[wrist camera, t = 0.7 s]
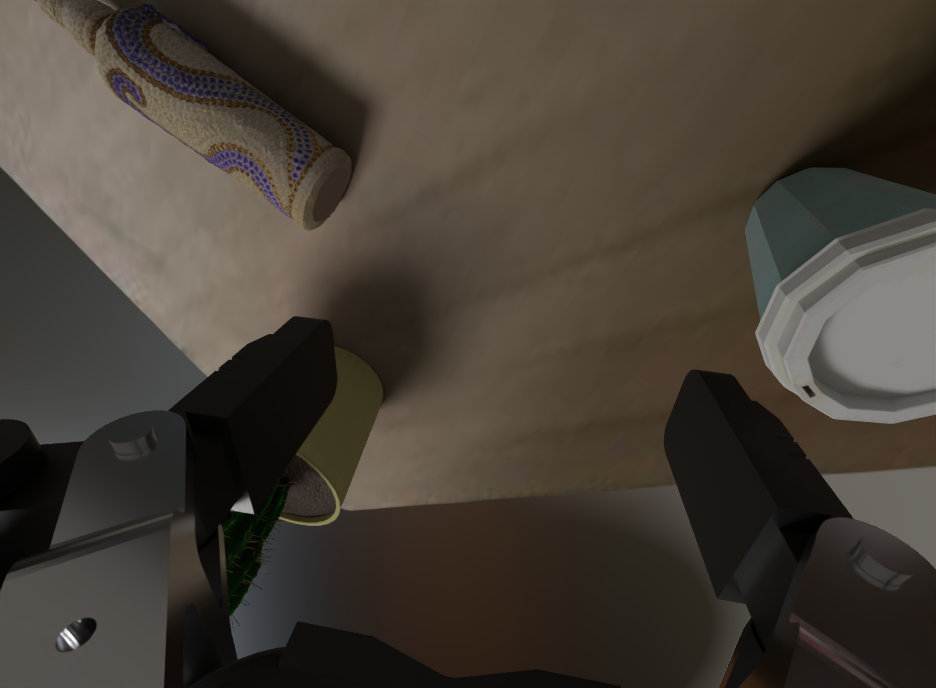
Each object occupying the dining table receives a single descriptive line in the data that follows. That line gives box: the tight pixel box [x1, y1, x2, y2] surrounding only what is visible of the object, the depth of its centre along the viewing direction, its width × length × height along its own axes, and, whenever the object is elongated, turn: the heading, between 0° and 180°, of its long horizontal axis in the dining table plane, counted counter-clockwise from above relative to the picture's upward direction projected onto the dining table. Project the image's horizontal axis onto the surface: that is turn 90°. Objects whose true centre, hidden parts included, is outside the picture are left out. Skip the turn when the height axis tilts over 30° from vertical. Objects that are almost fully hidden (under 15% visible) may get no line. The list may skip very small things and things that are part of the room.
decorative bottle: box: [35, 0, 352, 231], centre depth 32 cm, size 26×8×7 cm, turn 57°
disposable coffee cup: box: [745, 167, 936, 424], centre depth 23 cm, size 11×11×15 cm
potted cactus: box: [221, 346, 383, 624], centre depth 42 cm, size 15×15×30 cm
